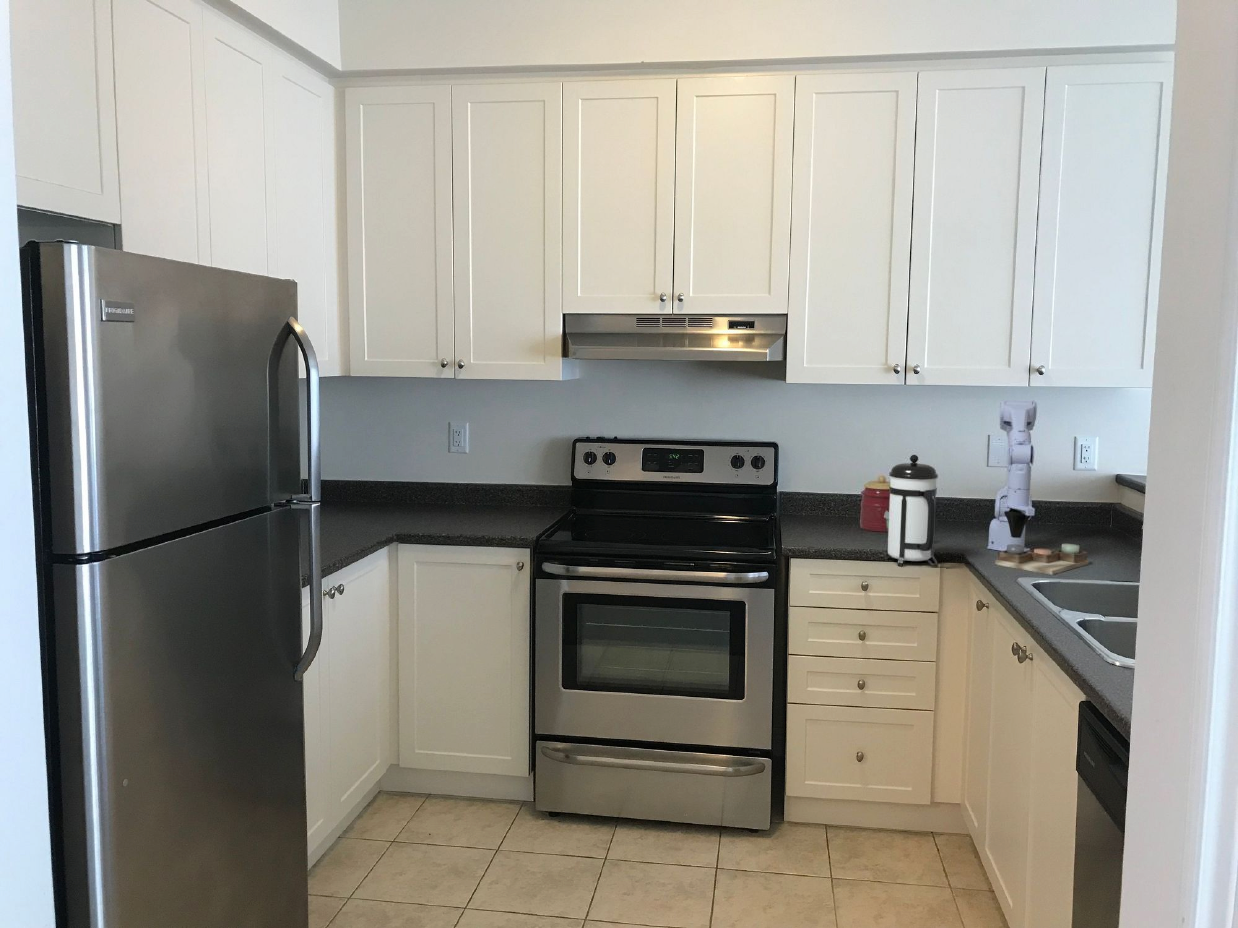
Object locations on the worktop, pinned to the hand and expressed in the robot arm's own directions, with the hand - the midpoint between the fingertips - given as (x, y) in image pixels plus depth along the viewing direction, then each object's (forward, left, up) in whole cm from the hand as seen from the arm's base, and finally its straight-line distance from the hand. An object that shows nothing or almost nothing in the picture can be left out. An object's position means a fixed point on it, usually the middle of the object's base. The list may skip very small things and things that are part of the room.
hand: (1016, 537), depth 265 cm
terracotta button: (+4, +7, -6) cm, 10 cm away
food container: (-35, -1, -8) cm, 35 cm away
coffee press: (-19, -20, -8) cm, 29 cm away
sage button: (+9, +13, -5) cm, 17 cm away
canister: (-56, +17, -8) cm, 58 cm away
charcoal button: (0, 0, -5) cm, 5 cm away
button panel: (+4, +7, -8) cm, 11 cm away
